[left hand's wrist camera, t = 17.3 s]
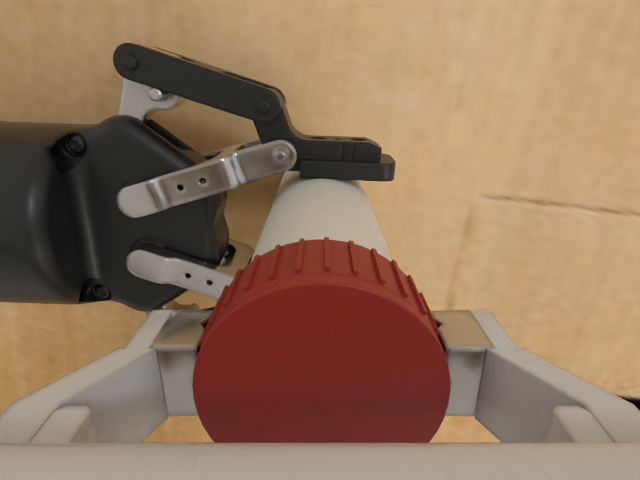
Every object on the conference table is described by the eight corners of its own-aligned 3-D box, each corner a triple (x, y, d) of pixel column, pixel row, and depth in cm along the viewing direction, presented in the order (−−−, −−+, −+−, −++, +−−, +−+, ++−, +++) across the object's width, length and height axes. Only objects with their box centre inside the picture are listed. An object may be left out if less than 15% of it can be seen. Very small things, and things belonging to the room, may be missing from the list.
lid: (249, 202, 9) (229, 239, 7) (467, 278, 10) (505, 332, 8) (191, 384, 11) (161, 454, 9) (377, 438, 12) (389, 514, 10)
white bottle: (355, 228, 25) (405, 460, 10) (278, 220, 25) (214, 443, 10) (367, 152, 23) (448, 292, 8) (285, 142, 23) (218, 268, 8)
